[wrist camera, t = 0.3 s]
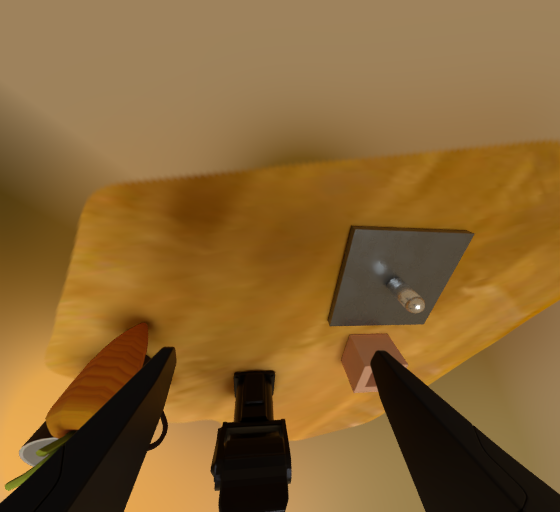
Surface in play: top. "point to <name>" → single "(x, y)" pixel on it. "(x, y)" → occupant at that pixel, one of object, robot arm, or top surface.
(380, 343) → the socket block
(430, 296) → the pin plate
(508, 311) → the top surface
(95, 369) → the carrot
